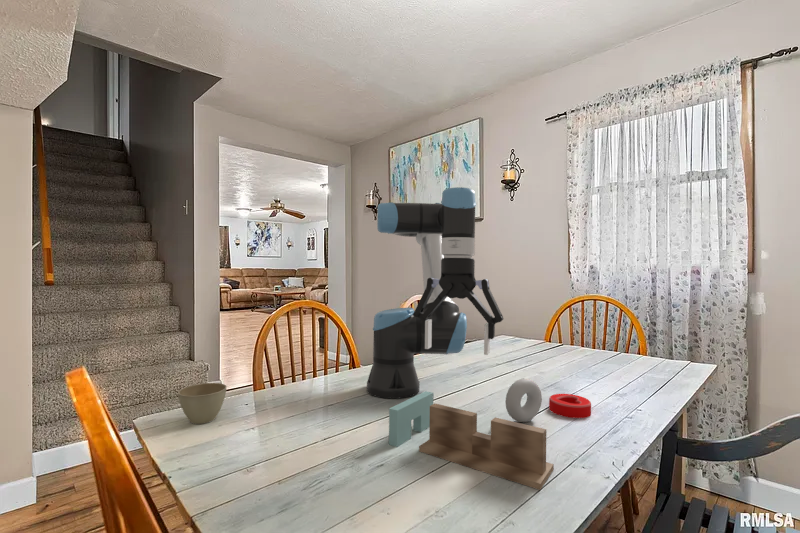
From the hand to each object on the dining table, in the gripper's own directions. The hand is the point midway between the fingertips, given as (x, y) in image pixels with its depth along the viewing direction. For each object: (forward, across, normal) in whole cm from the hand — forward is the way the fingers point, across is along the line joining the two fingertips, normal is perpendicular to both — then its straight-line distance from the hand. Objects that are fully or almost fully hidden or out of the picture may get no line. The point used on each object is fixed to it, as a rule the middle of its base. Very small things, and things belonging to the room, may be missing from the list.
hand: (456, 350), depth 92 cm
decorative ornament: (+17, +24, +19) cm, 35 cm away
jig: (+16, +9, -15) cm, 24 cm away
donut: (+17, +14, +7) cm, 23 cm away
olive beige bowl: (+17, -54, -21) cm, 60 cm away
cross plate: (+16, -7, -9) cm, 20 cm away
